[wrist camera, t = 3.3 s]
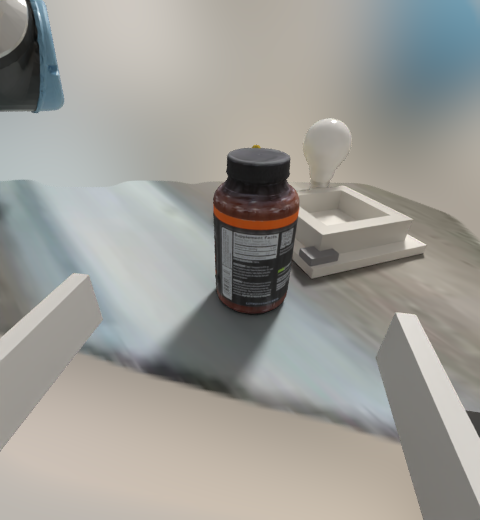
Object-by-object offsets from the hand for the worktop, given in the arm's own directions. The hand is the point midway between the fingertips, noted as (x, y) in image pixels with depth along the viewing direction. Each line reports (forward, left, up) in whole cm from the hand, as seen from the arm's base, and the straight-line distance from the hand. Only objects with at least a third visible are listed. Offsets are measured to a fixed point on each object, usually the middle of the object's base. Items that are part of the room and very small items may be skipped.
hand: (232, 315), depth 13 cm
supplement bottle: (-8, +5, -7) cm, 12 cm away
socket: (-15, +18, -6) cm, 24 cm away
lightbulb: (-25, +23, -7) cm, 35 cm away
